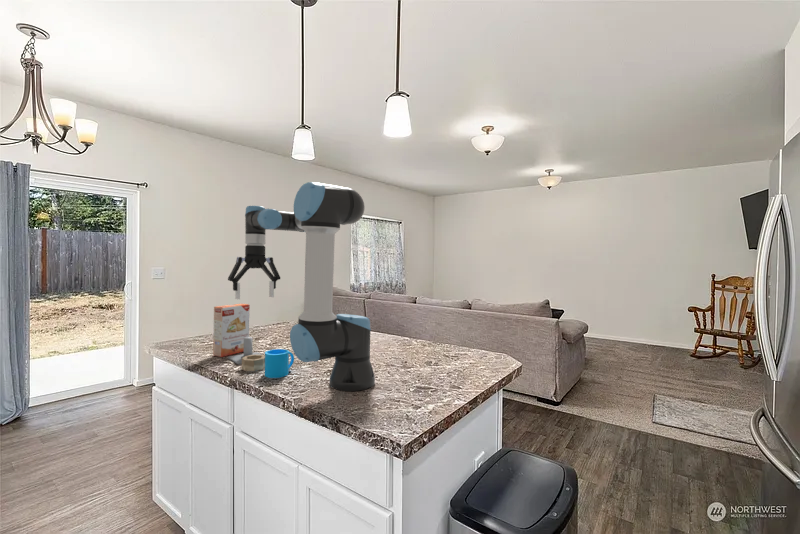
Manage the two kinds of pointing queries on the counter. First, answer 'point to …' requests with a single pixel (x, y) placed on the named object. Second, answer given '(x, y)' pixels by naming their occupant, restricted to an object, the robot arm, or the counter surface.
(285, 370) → the mug
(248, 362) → the ring
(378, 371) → the counter surface
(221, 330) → the cracker box
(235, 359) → the post plate
